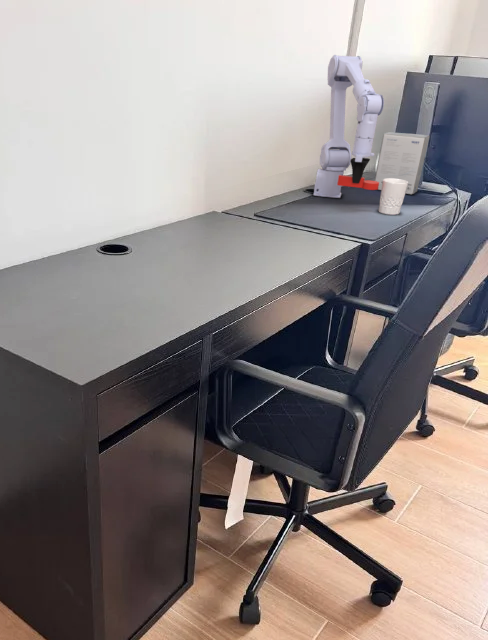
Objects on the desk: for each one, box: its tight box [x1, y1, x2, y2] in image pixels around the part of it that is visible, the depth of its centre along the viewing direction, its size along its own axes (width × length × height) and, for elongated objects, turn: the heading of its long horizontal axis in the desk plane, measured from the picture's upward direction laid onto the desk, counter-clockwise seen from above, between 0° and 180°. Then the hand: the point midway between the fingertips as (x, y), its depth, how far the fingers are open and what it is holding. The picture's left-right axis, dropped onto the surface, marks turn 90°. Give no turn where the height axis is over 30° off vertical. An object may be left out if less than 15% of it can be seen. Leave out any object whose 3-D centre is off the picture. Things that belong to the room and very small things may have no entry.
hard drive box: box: [374, 131, 430, 195], centre depth 217 cm, size 16×8×20 cm, turn 58°
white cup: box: [378, 178, 408, 216], centre depth 189 cm, size 8×8×10 cm
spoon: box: [337, 174, 379, 191], centre depth 190 cm, size 13×5×3 cm, turn 70°
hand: (356, 182), depth 190 cm, fingers closed on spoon, 2 cm apart
